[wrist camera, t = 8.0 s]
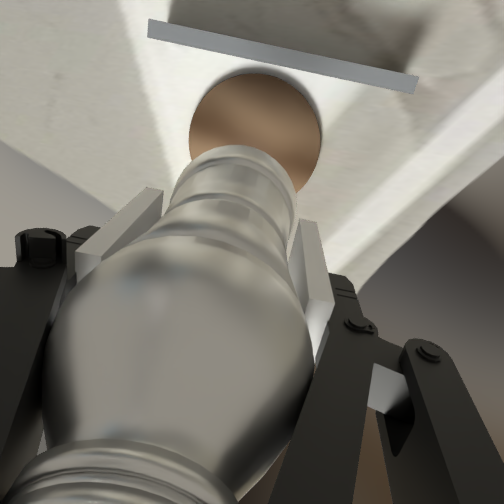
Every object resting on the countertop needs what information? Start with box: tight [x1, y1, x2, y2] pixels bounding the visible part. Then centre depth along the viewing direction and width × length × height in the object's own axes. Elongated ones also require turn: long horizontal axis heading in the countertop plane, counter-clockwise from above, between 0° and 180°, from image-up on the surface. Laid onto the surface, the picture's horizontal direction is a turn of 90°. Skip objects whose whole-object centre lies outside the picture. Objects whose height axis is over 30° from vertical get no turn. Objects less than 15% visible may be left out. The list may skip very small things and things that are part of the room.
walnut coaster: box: [189, 74, 320, 193], centre depth 36 cm, size 12×12×1 cm
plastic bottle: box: [0, 145, 315, 504], centre depth 14 cm, size 6×7×20 cm
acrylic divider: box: [147, 19, 419, 94], centre depth 31 cm, size 1×20×5 cm, turn 80°
